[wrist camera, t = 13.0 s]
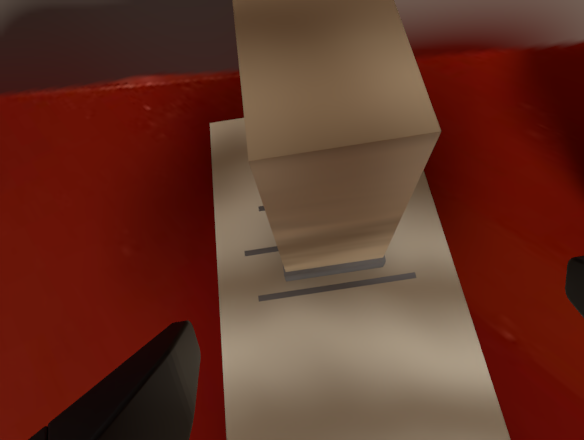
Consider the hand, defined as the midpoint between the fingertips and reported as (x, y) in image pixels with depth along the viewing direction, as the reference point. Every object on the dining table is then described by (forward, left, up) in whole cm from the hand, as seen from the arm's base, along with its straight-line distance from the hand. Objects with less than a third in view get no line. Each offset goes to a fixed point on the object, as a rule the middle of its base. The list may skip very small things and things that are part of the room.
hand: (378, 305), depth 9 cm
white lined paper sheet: (+2, +2, -11) cm, 11 cm away
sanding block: (+5, +5, -10) cm, 12 cm away
